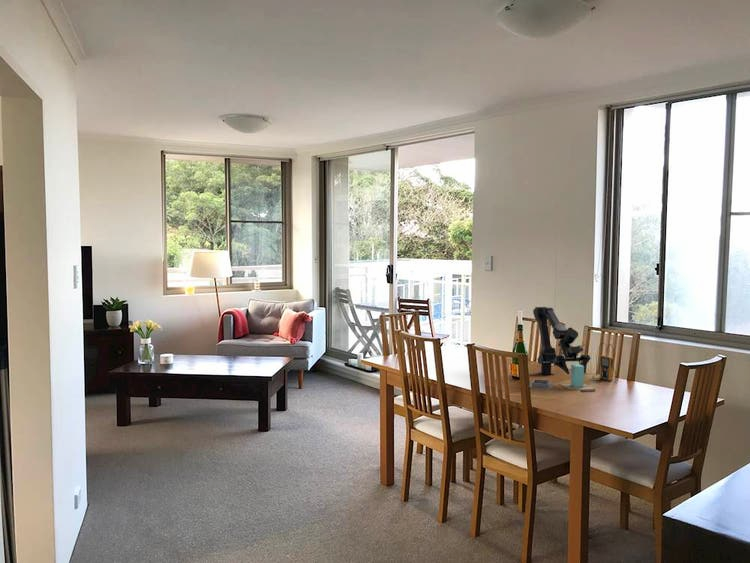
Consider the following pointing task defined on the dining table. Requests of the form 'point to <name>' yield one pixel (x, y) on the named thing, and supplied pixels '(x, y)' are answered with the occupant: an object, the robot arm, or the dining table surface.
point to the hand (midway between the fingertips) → (576, 373)
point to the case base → (541, 384)
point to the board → (583, 389)
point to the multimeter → (606, 366)
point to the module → (577, 375)
